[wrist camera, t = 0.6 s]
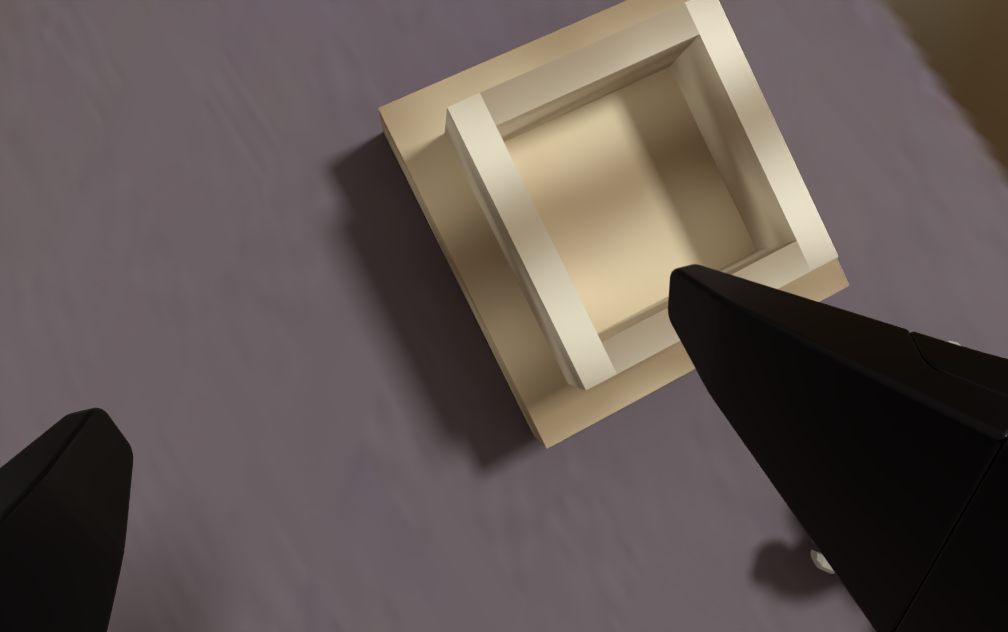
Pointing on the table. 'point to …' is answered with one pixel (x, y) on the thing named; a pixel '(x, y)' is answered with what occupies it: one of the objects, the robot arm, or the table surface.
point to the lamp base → (606, 198)
